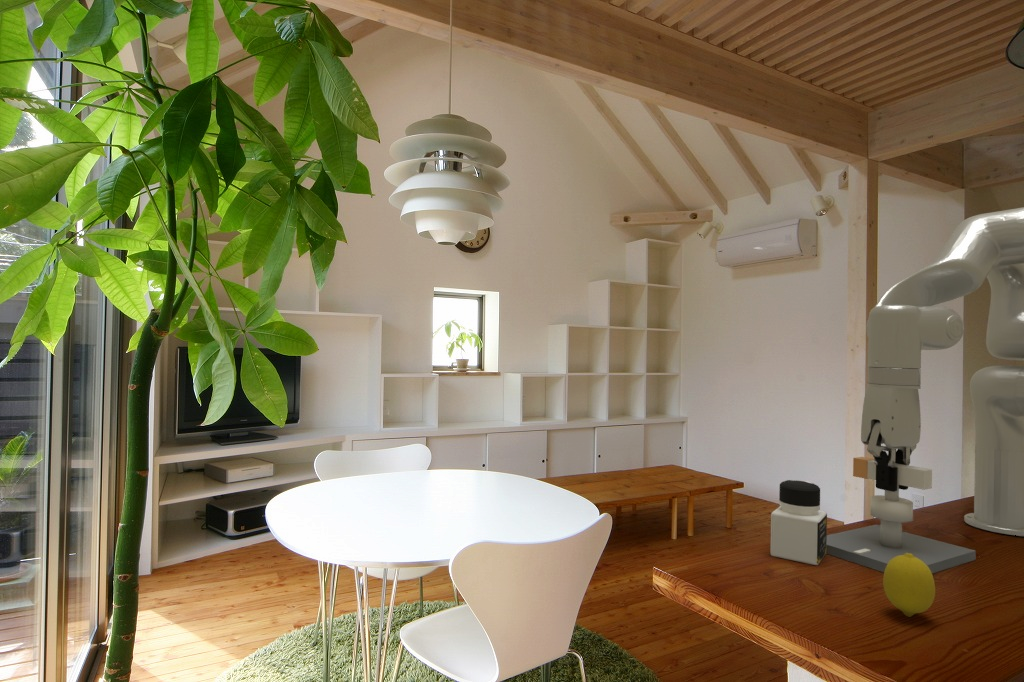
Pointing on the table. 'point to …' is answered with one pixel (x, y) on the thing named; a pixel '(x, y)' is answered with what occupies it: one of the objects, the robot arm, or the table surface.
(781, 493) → the medicine bottle
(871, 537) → the coupling base
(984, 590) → the table surface
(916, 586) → the lemon
